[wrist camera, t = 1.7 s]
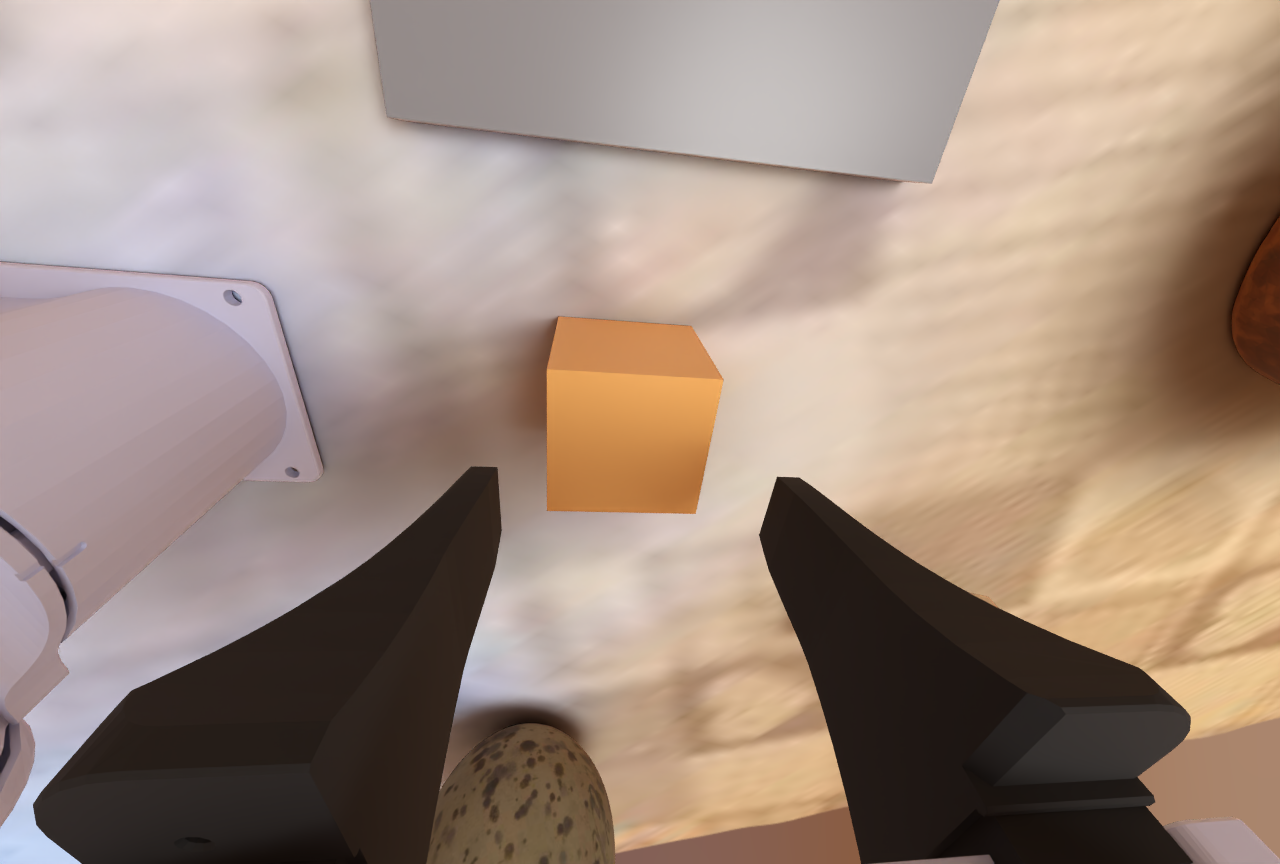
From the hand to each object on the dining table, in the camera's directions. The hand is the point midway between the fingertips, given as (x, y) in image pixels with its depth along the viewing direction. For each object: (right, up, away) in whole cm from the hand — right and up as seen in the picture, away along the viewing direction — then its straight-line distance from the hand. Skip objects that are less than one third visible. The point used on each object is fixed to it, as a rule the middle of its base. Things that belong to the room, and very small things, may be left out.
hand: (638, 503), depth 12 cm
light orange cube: (-1, +4, +7) cm, 8 cm away
